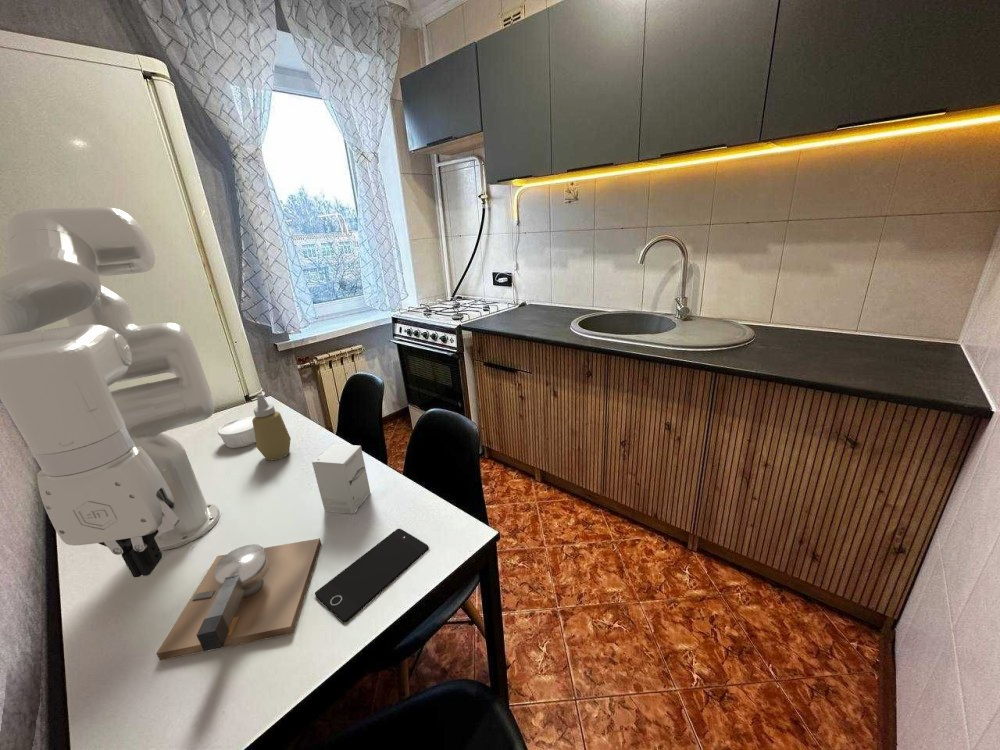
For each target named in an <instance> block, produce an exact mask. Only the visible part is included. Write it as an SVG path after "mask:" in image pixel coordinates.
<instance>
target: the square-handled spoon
mask: <svg viewBox="0 0 1000 750" xmlns="http://www.w3.org/2000/svg"><path fill="white" fill-rule="evenodd" d="M264 548H265V547H263V546H262V545H260V544H255V543H253V544H247V545H243V546H240V547H237V548H235V549H232V550H231V551H230V552H228V553H227V555H226V554H224V555H225V556H224V557H223V558H222V559H221V560H220V561H219V562H218V563H217V565H216V566H215V569H214V575H215V577H216V580H217V582H218V584H219V587H220V590H219V592H218V594H217V596H216V598H215V601H214V603H213V605H212V607H211V609H210V611H209V613H208V615H207V617H206V619H204V621H203V623H202V625H201V627H200V629H199V631H198V633H197V635H196V636H197V638H198V640H199V642H200V644H201V646H202V648H203V650H204V653H205V652H208V651H209V650H210V651H214V650H218V649H217V648H219V649H222V648H221V647H223V645H224V642H225V640H226V638H227V635H228V633H229V628H230V625H231V623H232V620H233V618H234V615H235V613H236V611H237V608H238V606H239V603H240V601H241V599H242V596H243V594H244V591H245V590H247V589H249V588H251V587H252V586H254V585H255V584H257V583H258V582H259V581H260V580H262V579H263V577H264V576H265V575H266V574H267V572H268V570H269V562H268V559H267V556H266V554H265V551H264ZM213 649H214V650H213Z"/></svg>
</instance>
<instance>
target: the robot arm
mask: <svg viewBox="0 0 1000 750" xmlns="http://www.w3.org/2000/svg"><path fill="white" fill-rule="evenodd" d="M5 243H6V244H5V252H6V257H5V258H6V268H5V269H6V273H4V274H2V275H0V406H4V408H5V410H6V411H7V412H8V415H9V416H10V418H11V419H12V422H14V424H15V426H16V428H17V430H18V431H19V434H20V435H21V436H22V438H23V440H24V442H25V443H26V445H27V449H26V456H27V457H29V458H30V459H35V461H36V462H37V465H38V466H39V468H41V469H40V470H39V472H38V473H37V474H36V476H37V477H36V478H37V486H38V487H37V488H38V492H39V495H40V498H41V502H42V504H43V507H44V510H45V512H46V514H47V515H48V518H49V520H50V522H51V524H52V526H53V528H54V530H55V531H56V533H57V536H59V538H60V539H61V540H62V542H63V543H64V544H66V545H67V546H68V545H69V546H85V545H93V544H99V545H100V546H104V547H107V548H108V549H109V551H111V552H112V554H113V555H116V556H121V558H122V560H123V561H124V562H125V563H124V564H126V566H127V568H128V571H129V572H130V574H131V576H132V577H133V578H140V577H141V576H142V577H147V576H150V575H151V574H152V573H153V571H154V570H155V568H156V567H157V566H158V564H159V563H160V562H161V561H162V559H163V554H162V551H167V550H171V549H175V548H179V547H181V546H184V545H186V544H188V543H191V542H193V541H195V540H197V539H198V538H200V537H201V536H203V535H205V534H206V533H207V532H208V531H210V530H211V529H212V528H214V526H215V525H216V524H217V522H218V521H219V519H220V516H221V513H220V509H219V508H218V506H216V504H213V503H207V502H206V500H205V497H204V494H203V492H202V489H201V487H200V485H199V481H198V480H197V477H196V475H195V471H194V469H193V467H192V464H191V462H190V459H189V457H188V455H187V451H186V450H185V447H184V445H182V443H181V442H179V441H178V440H177V439H176V438H173V437H171V436H169V435H168V434H167V433H165V432H167V431H170V430H175V429H179V428H181V427H186V426H189V425H192V424H197V423H199V422H202V421H205V420H208V419H209V418H211V416H213V414H214V412H215V401H214V398H213V397H214V396H213V394H212V392H211V389H210V385H209V383H208V380H207V378H206V374H205V372H204V371H205V370H204V369H203V366H202V363H201V361H200V358H199V355H198V352H197V349H196V346H195V344H194V342H193V339H192V337H191V336H190V334H189V332H188V331H187V330H186V328H184V327H183V325H180V324H178V323H175V322H157V323H151V324H149V323H148V324H143V325H137V324H136V321H135V320H134V317H133V314H132V311H131V307H130V306H129V304H128V303H129V302H127V301H126V300H125V299H124V298H123V297H121V296H120V295H118V293H116V292H114V291H112V290H111V289H109V288H107V287H105V286H103V285H102V283H101V279H100V277H111V276H119V275H120V276H121V275H122V276H123V275H133V274H142V273H146V272H148V273H149V272H150V271H151V270H153V268H154V266H155V264H156V258H155V251H154V248H153V246H152V243H151V240H149V237H148V235H147V234H146V233H145V232H144V229H143V228H142V226H141V225H140V224H139V223H138V222H137V220H136V219H135V218H134V217H132V216H131V215H130V214H129V213H127V212H125V211H123V210H121V209H119V208H114V207H111V206H109V207H108V206H82V207H81V206H79V207H77V206H73V207H68V206H67V207H36V208H35V207H34V208H27V209H24V210H21V211H18V212H16V213H15V214H13V215H11V216H10V218H9V219H8V220H7V223H6V227H5ZM64 319H66V320H67V322H68V323H67V324H68V326H63V327H56V328H50V329H40V328H42V327H45V326H48V325H51V324H53V323H56V322H59V321H61V320H64ZM37 329H38V330H37ZM166 373H167V374H168V373H169V374H173V375H174V376H176V377H171V378H166V379H162V380H158V381H153V382H145V383H142V384H136V385H133V386H128V387H123V388H119V389H116V390H112V391H111V390H110V388H109V387H110V386H111V385H114V384H115V383H121V382H126V381H133V380H137V379H142V378H148V377H152V376H156V375H161V374H166Z"/></svg>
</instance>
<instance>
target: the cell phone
mask: <svg viewBox="0 0 1000 750" xmlns="http://www.w3.org/2000/svg"><path fill="white" fill-rule="evenodd" d="M429 549H430V546H429V545H428V544H427V543H425V542H423V541H422V540H420V539H418V538H417V537H415V536H413V535H412V534H410V533H408V532H407V531H405V530H404V529H402V528H397V529H395V530H393V532H391V533H390V534H388V535H386V537H385V538H383V539H382V540H381V541H379V542H378V543H376V545H374V546H373V547H371V548H370V549H369V550H367V551H366V552H365V553H364V554H362V555H361V556H360V557H359V558H357V559H356V560H355V561H354V562H352V563H351V564H350V565H348V566H347V567H346V568H344V569H343V570H342V571H341V572H340V573H338V574H337V575H336V576H334V577H332V578H331V579H330V580H329V581H328V582H326V583H325V584H324V585H322V586H321V587H319V589H317V590H316V591H315V592H314V595H315V598H316V599H317V600H318V601H319V602H320V603H321V604H322V605H323V606H324V607H325V608H326V609H328V611H330V612H331V613H332V614H333V615H334V616H335V617H336V618H337V619H338V620H340V621H341V622H342V623H343V624H346V623H348V622H350V620H351V619H353V618H354V617H355V616H356V615H358V614H359V612H361V611H362V610H363V609H364V608H365V607H366V606H368V605H369V604H370V603H371V602H372V601H373V600H374V599H375V598H377V596H379V594H381V593H382V592H383V591H384V590H385V589H386V588H387V587H389V586H390V585H391V584H392V583H393V582H394V581H395V580H397V579H398V578H399V577H400V575H402V574H403V573H405V571H407V570H408V568H409V569H410V567H411V566H412V565H413V564H415V563H416V562H417V561H418V560H419V559H420V558H421V557H422V556H423V555H424V554H425V553H427V552H428V551H429Z"/></svg>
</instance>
